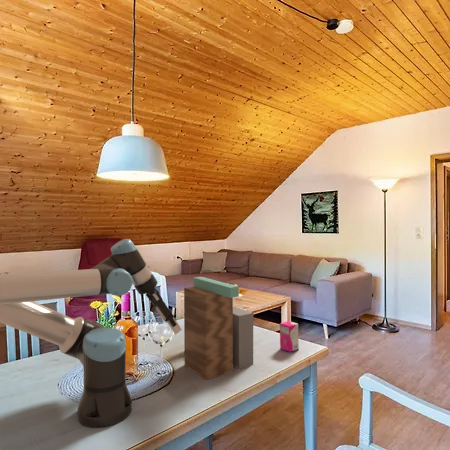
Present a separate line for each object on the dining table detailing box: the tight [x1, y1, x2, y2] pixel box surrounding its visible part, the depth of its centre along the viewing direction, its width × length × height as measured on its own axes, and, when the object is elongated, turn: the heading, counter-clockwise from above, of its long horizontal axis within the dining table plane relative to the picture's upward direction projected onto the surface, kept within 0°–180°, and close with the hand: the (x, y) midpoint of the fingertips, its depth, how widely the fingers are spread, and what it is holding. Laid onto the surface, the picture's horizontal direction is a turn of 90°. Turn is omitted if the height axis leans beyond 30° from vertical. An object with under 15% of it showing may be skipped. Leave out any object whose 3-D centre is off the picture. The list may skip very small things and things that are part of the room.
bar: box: [193, 276, 240, 299], centre depth 129 cm, size 4×24×4 cm, turn 36°
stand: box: [183, 285, 234, 380], centre depth 133 cm, size 12×15×30 cm
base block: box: [233, 306, 254, 369], centre depth 140 cm, size 7×12×20 cm, turn 36°
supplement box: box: [279, 320, 300, 354], centre depth 152 cm, size 6×6×12 cm
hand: (172, 325), depth 130 cm, fingers open, 13 cm apart
